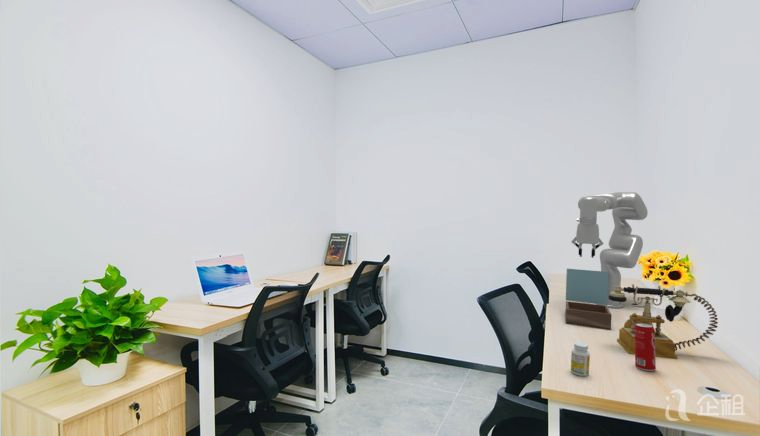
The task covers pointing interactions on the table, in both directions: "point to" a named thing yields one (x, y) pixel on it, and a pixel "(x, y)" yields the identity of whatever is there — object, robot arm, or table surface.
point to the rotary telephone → (657, 319)
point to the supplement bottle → (580, 359)
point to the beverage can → (645, 346)
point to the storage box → (588, 315)
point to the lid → (587, 286)
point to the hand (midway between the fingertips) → (586, 256)
